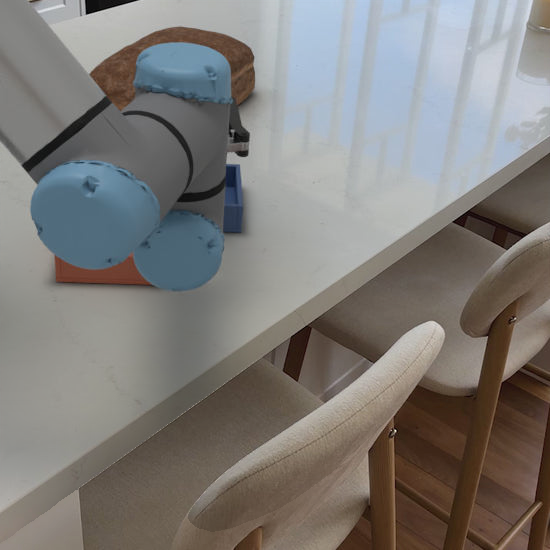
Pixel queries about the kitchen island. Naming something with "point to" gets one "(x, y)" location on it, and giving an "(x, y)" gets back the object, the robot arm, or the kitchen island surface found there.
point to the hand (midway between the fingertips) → (189, 79)
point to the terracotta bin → (100, 273)
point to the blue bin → (233, 199)
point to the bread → (122, 65)
